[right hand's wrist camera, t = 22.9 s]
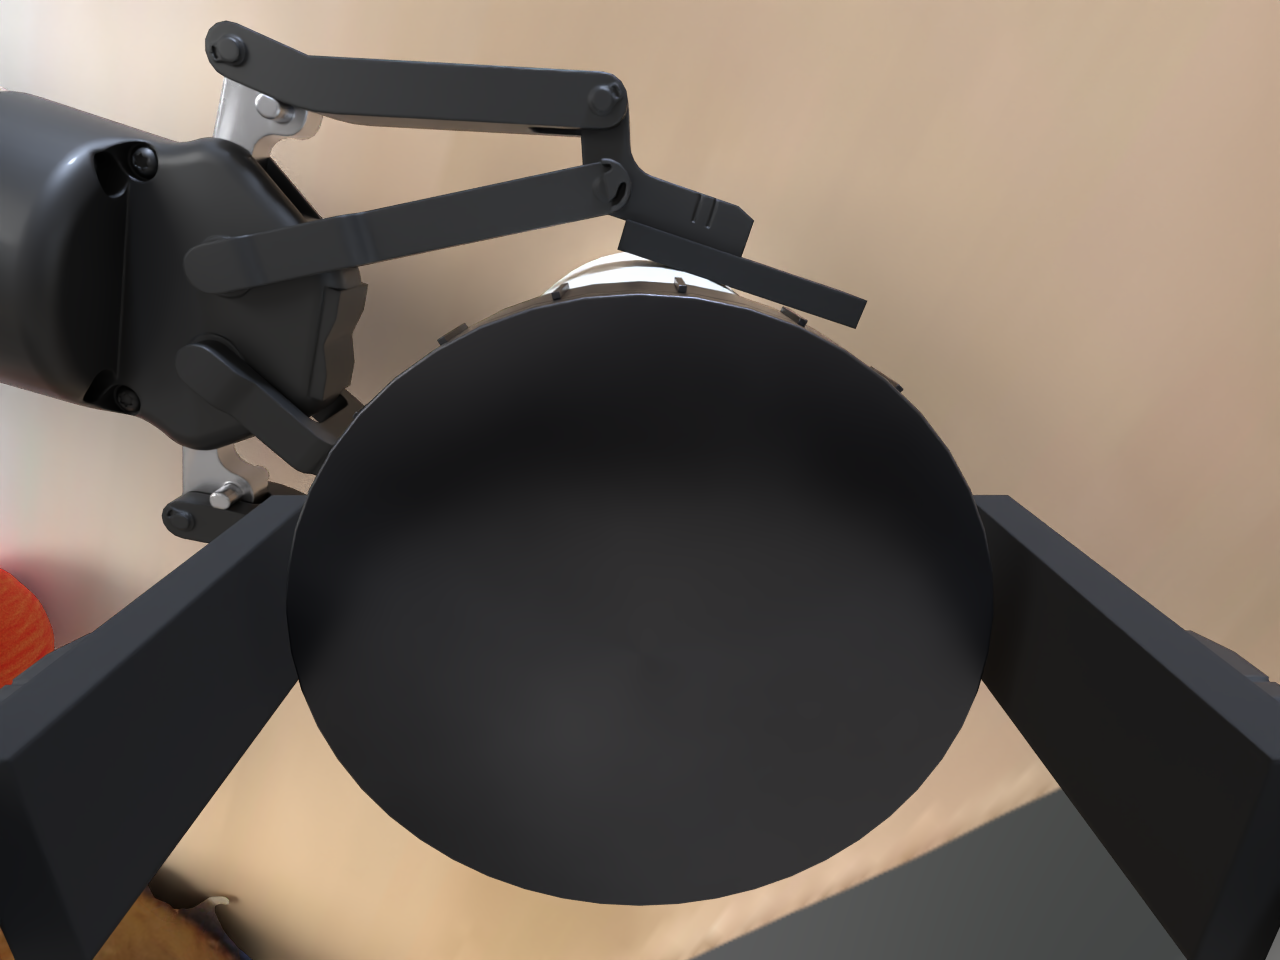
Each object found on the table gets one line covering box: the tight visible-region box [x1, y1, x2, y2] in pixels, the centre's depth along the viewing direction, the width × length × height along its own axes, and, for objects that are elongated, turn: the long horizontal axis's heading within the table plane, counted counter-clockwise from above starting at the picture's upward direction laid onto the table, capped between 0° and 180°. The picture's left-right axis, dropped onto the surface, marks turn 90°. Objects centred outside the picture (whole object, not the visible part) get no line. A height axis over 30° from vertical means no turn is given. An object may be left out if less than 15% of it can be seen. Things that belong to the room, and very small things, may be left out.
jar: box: [541, 252, 739, 296], centre depth 19 cm, size 10×10×17 cm
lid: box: [286, 277, 994, 906], centre depth 11 cm, size 10×10×2 cm
